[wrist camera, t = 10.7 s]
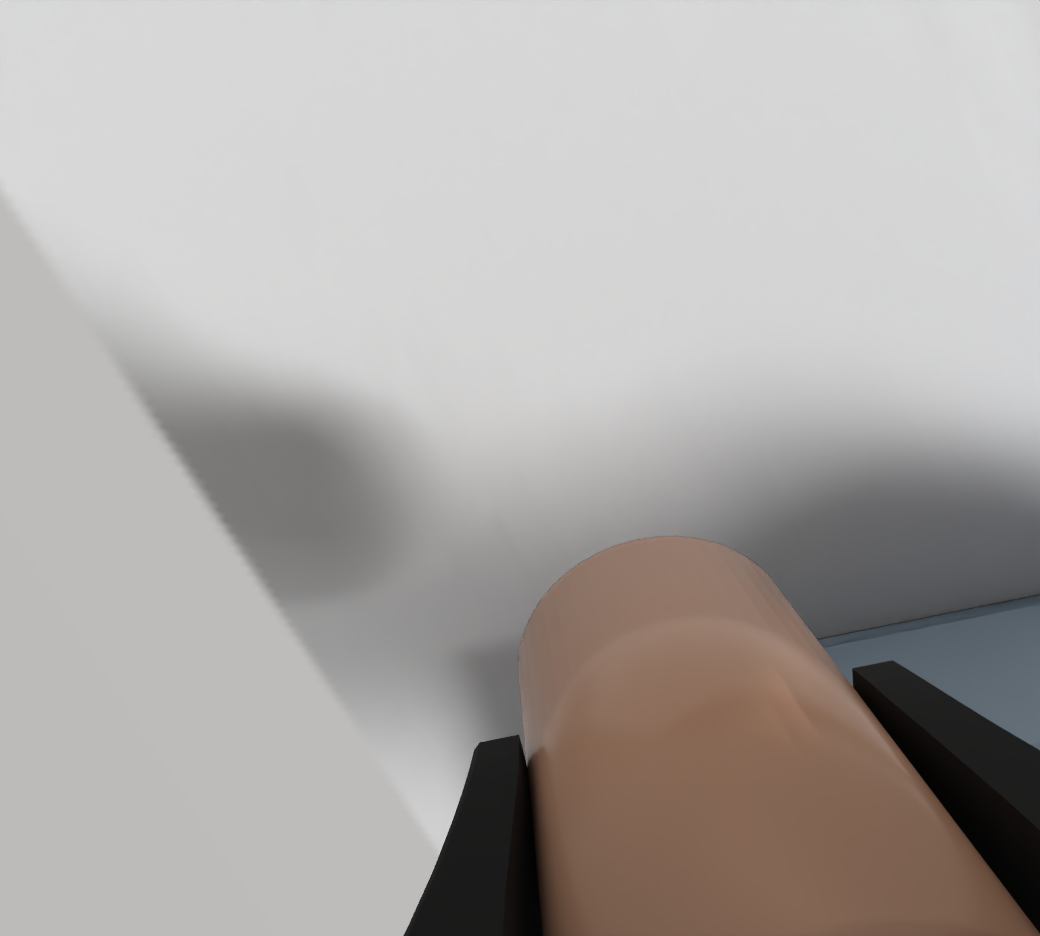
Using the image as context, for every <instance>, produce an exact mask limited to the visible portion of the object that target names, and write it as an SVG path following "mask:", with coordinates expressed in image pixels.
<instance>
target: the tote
mask: <svg viewBox="0 0 1040 936" xmlns="http://www.w3.org/2000/svg"><path fill="white" fill-rule="evenodd" d="M818 642H819V643H820V644H821V646H822V647H823V648H824V649H825V651H826V652H827V653H828V655H829V656H830V657H831V659H832V660H833V661H834V663H835V664H836V665H837V667H838V668H839V669H840V671H841V672H842V673H843V675H844V676H845V677H846V679H847V680H848V681H849V682H850V684H851V685H852V686H853V674H852V668H856V667H861V666H866V665H871V664H876V663H881V662H886V661H891V660H893V661H895V662H897V663H898V664H900V665H901V666H903V667H905V668H906V669H908V670H910V671H911V672H913V673H914V674H916V675H918V676H919V677H921V678H922V679H924V680H926V681H927V682H929V683H930V684H932V685H934V686H935V687H937V688H938V689H940V690H941V691H943V692H945V693H946V694H948V695H949V696H951V697H953V698H954V699H956V700H957V701H959V702H961V703H962V704H964V705H966V706H967V707H969V708H970V709H972V710H974V711H975V712H977V713H978V714H980V715H982V716H983V717H985V718H987V719H988V720H990V721H992V722H993V723H995V724H996V725H998V726H1000V727H1001V728H1003V729H1005V730H1006V731H1008V732H1010V733H1012V734H1013V735H1015V736H1017V737H1018V738H1020V739H1022V740H1023V741H1025V742H1027V743H1028V744H1030V745H1032V746H1034V747H1035V748H1037V749H1039V750H1040V595H1037V596H1032V597H1027V598H1022V599H1017V600H1012V601H1007V602H1002V603H997V604H992V605H987V606H982V607H977V608H972V609H967V610H962V611H957V612H953V613H948V614H943V615H938V616H933V617H928V618H923V619H918V620H913V621H908V622H903V623H898V624H893V625H888V626H883V627H878V628H873V629H868V630H863V631H858V632H853V633H848V634H844V635H839V636H834V637H829V638H824V639H819V640H818Z"/></svg>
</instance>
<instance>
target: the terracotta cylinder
mask: <svg viewBox="0 0 1040 936" xmlns="http://www.w3.org/2000/svg"><path fill="white" fill-rule="evenodd" d="M518 675H519V686H520V697H521V708H522V718H523V729H524V740H525V750H526V761H527V771H528V782H529V793H530V804H531V815H532V825H533V836H534V847H535V858H536V868H537V879H538V890H539V901H540V911H541V922H542V933H543V936H1040V933H1039V932H1038V930H1037V929H1036V928H1035V927H1034V925H1033V924H1032V923H1031V921H1030V920H1029V919H1028V917H1027V916H1026V915H1025V913H1024V912H1023V911H1022V909H1021V908H1020V907H1019V905H1018V904H1017V903H1016V901H1015V900H1014V899H1013V898H1012V896H1011V895H1010V894H1009V892H1008V891H1007V890H1006V888H1005V887H1004V886H1003V884H1002V883H1001V882H1000V880H999V879H998V878H997V876H996V875H995V874H994V872H993V871H992V870H991V868H990V867H989V866H988V865H987V863H986V862H985V861H984V859H983V858H982V857H981V855H980V854H979V853H978V851H977V850H976V849H975V847H974V846H973V845H972V843H971V842H970V841H969V839H968V838H967V837H966V835H965V834H964V833H963V832H962V830H961V829H960V828H959V826H958V825H957V824H956V822H955V821H954V820H953V818H952V817H951V816H950V814H949V813H948V812H947V810H946V809H945V808H944V806H943V805H942V804H941V803H940V801H939V800H938V799H937V797H936V796H935V795H934V793H933V792H932V791H931V789H930V788H929V787H928V785H927V784H926V783H925V781H924V780H923V779H922V777H921V776H920V775H919V773H918V772H917V771H916V770H915V768H914V767H913V766H912V764H911V763H910V762H909V760H908V759H907V758H906V756H905V755H904V754H903V752H902V751H901V750H900V748H899V747H898V746H897V744H896V743H895V742H894V741H893V739H892V738H891V737H890V735H889V734H888V733H887V731H886V730H885V729H884V727H883V726H882V725H881V723H880V722H879V721H878V719H877V718H876V717H875V715H874V714H873V713H872V711H871V710H870V709H869V708H868V706H867V705H866V704H865V702H864V701H863V700H862V698H861V697H860V696H859V694H858V693H857V692H856V690H855V689H854V688H853V686H852V685H851V684H850V682H849V681H848V680H847V679H846V677H845V676H844V675H843V673H842V672H841V671H840V669H839V668H838V667H837V665H836V664H835V663H834V661H833V660H832V659H831V657H830V656H829V655H828V653H827V652H826V651H825V649H824V648H823V647H822V646H821V644H820V643H819V642H818V640H817V639H816V638H815V636H814V635H813V634H812V632H811V631H810V630H809V628H808V627H807V626H806V624H805V623H804V622H803V620H802V619H801V618H800V616H799V615H798V614H797V613H796V611H795V610H794V609H793V607H792V606H791V605H790V603H789V602H788V601H787V599H786V598H785V597H784V595H783V594H782V593H781V591H780V590H779V589H778V587H777V586H776V585H775V584H774V582H773V581H772V580H771V578H770V577H769V576H768V575H767V574H766V573H765V572H764V571H763V570H762V569H761V568H760V567H759V566H758V565H757V564H755V563H754V562H752V561H751V560H750V559H748V558H747V557H745V556H744V555H742V554H740V553H738V552H736V551H734V550H732V549H730V548H729V547H726V546H723V545H720V544H717V543H714V542H712V541H707V540H702V539H698V538H692V537H681V536H660V537H650V538H644V539H637V540H633V541H629V542H626V543H622V544H619V545H616V546H613V547H611V548H608V549H606V550H603V551H601V552H599V553H597V554H595V555H593V556H591V557H589V558H588V559H586V560H584V561H582V562H581V563H579V564H578V565H577V566H575V567H574V568H572V569H571V570H570V571H568V572H567V573H566V574H565V575H564V576H562V577H561V578H560V579H559V580H558V581H557V582H556V583H555V584H554V585H553V586H552V587H551V588H550V589H549V591H548V592H547V593H546V594H545V595H544V596H543V598H542V599H541V600H540V602H539V604H538V605H537V607H536V608H535V610H534V611H533V613H532V615H531V617H530V619H529V621H528V623H527V626H526V628H525V631H524V634H523V637H522V641H521V644H520V651H519V658H518Z"/></svg>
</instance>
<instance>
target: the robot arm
mask: <svg viewBox="0 0 1040 936" xmlns="http://www.w3.org/2000/svg"><path fill="white" fill-rule="evenodd" d="M852 674H853V688H854V689H855V690H856V692H857V693H858V694H859V696H860V697H861V698H862V700H863V701H864V702H865V704H866V705H867V706H868V708H869V709H870V710H871V711H872V713H873V714H874V715H875V717H876V718H877V719H878V721H879V722H880V723H881V725H882V726H883V727H884V729H885V730H886V731H887V733H888V734H889V735H890V737H891V738H892V739H893V741H894V742H895V743H896V744H897V746H898V747H899V748H900V750H901V751H902V752H903V754H904V755H905V756H906V758H907V759H908V760H909V762H910V763H911V764H912V766H913V767H914V768H915V770H916V771H917V772H918V773H919V775H920V776H921V777H922V779H923V780H924V781H925V783H926V784H927V785H928V787H929V788H930V789H931V791H932V792H933V793H934V795H935V796H936V797H937V799H938V800H939V801H940V803H941V804H942V805H943V806H944V808H945V809H946V810H947V812H948V813H949V814H950V816H951V817H952V818H953V820H954V821H955V822H956V824H957V825H958V826H959V828H960V829H961V830H962V832H963V833H964V834H965V835H966V837H967V838H968V839H969V841H970V842H971V843H972V845H973V846H974V847H975V849H976V850H977V851H978V853H979V854H980V855H981V857H982V858H983V859H984V861H985V862H986V863H987V865H988V866H989V867H990V868H991V870H992V871H993V872H994V874H995V875H996V876H997V878H998V879H999V880H1000V882H1001V883H1002V884H1003V886H1004V887H1005V888H1006V890H1007V891H1008V892H1009V894H1010V895H1011V896H1012V898H1013V899H1014V900H1015V901H1016V903H1017V904H1018V905H1019V907H1020V908H1021V909H1022V911H1023V912H1024V913H1025V915H1026V916H1027V917H1028V919H1029V920H1030V921H1031V923H1032V924H1033V925H1034V927H1035V928H1036V929H1037V930H1038V932H1039V933H1040V750H1039V749H1037V748H1035V747H1034V746H1032V745H1030V744H1028V743H1027V742H1025V741H1023V740H1022V739H1020V738H1018V737H1017V736H1015V735H1013V734H1012V733H1010V732H1008V731H1006V730H1005V729H1003V728H1001V727H1000V726H998V725H996V724H995V723H993V722H992V721H990V720H988V719H987V718H985V717H983V716H982V715H980V714H978V713H977V712H975V711H974V710H972V709H970V708H969V707H967V706H966V705H964V704H962V703H961V702H959V701H957V700H956V699H954V698H953V697H951V696H949V695H948V694H946V693H945V692H943V691H941V690H940V689H938V688H937V687H935V686H934V685H932V684H930V683H929V682H927V681H926V680H924V679H922V678H921V677H919V676H918V675H916V674H914V673H913V672H911V671H910V670H908V669H906V668H905V667H903V666H901V665H900V664H898V663H897V662H895V661H893V660H891V661H886V662H881V663H876V664H871V665H866V666H861V667H856V668H852ZM404 936H543V933H542V922H541V911H540V901H539V890H538V879H537V868H536V858H535V847H534V836H533V825H532V815H531V804H530V793H529V782H528V771H527V764H526V760H525V756H524V753H523V749H522V745H521V741H520V737H519V735H515V736H510V737H505V738H500V739H495V740H490V741H485V742H480V743H479V744H478V746H477V747H476V748H475V750H474V753H473V757H472V761H471V765H470V769H469V772H468V776H467V779H466V782H465V786H464V789H463V792H462V795H461V798H460V801H459V804H458V807H457V810H456V813H455V816H454V818H453V821H452V824H451V826H450V829H449V832H448V834H447V837H446V839H445V842H444V845H443V847H442V850H441V852H440V855H439V858H438V860H437V863H436V865H435V868H434V870H433V872H432V875H431V877H430V880H429V881H428V884H427V886H426V888H425V890H424V893H423V895H422V897H421V899H420V901H419V904H418V906H417V908H416V911H415V912H414V915H413V917H412V919H411V922H410V924H409V926H408V928H407V930H406V932H405V934H404Z"/></svg>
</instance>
